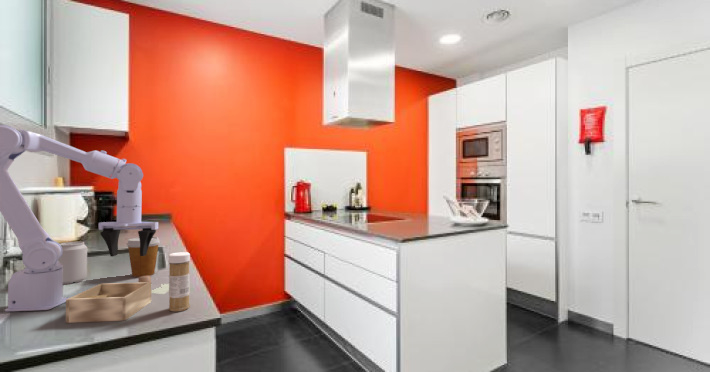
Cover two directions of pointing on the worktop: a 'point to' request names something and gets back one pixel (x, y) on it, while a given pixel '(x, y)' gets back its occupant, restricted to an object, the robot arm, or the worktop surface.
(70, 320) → the box
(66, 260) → the can
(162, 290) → the lid
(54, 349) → the worktop surface
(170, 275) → the sprinkles bottle
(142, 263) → the disposable coffee cup
